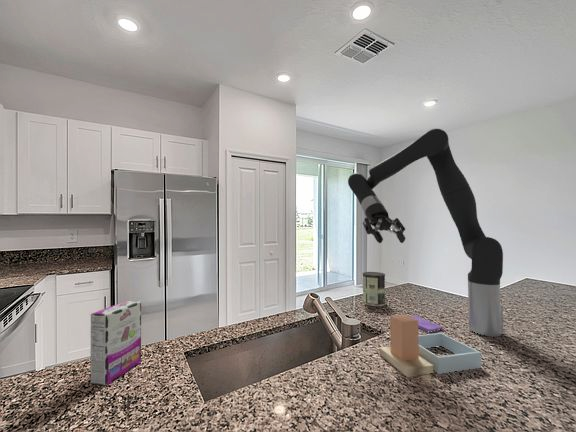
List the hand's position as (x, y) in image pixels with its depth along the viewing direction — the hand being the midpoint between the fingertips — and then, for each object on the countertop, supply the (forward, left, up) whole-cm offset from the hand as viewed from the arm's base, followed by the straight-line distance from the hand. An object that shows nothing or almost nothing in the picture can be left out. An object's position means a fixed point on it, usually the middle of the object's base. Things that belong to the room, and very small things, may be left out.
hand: (392, 241), depth 93 cm
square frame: (-3, +17, -32) cm, 36 cm away
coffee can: (-14, -35, -32) cm, 50 cm away
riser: (+8, +17, -32) cm, 37 cm away
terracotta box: (+8, +17, -30) cm, 35 cm away
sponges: (-16, -6, -32) cm, 37 cm away
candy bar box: (+82, +5, -32) cm, 88 cm away
